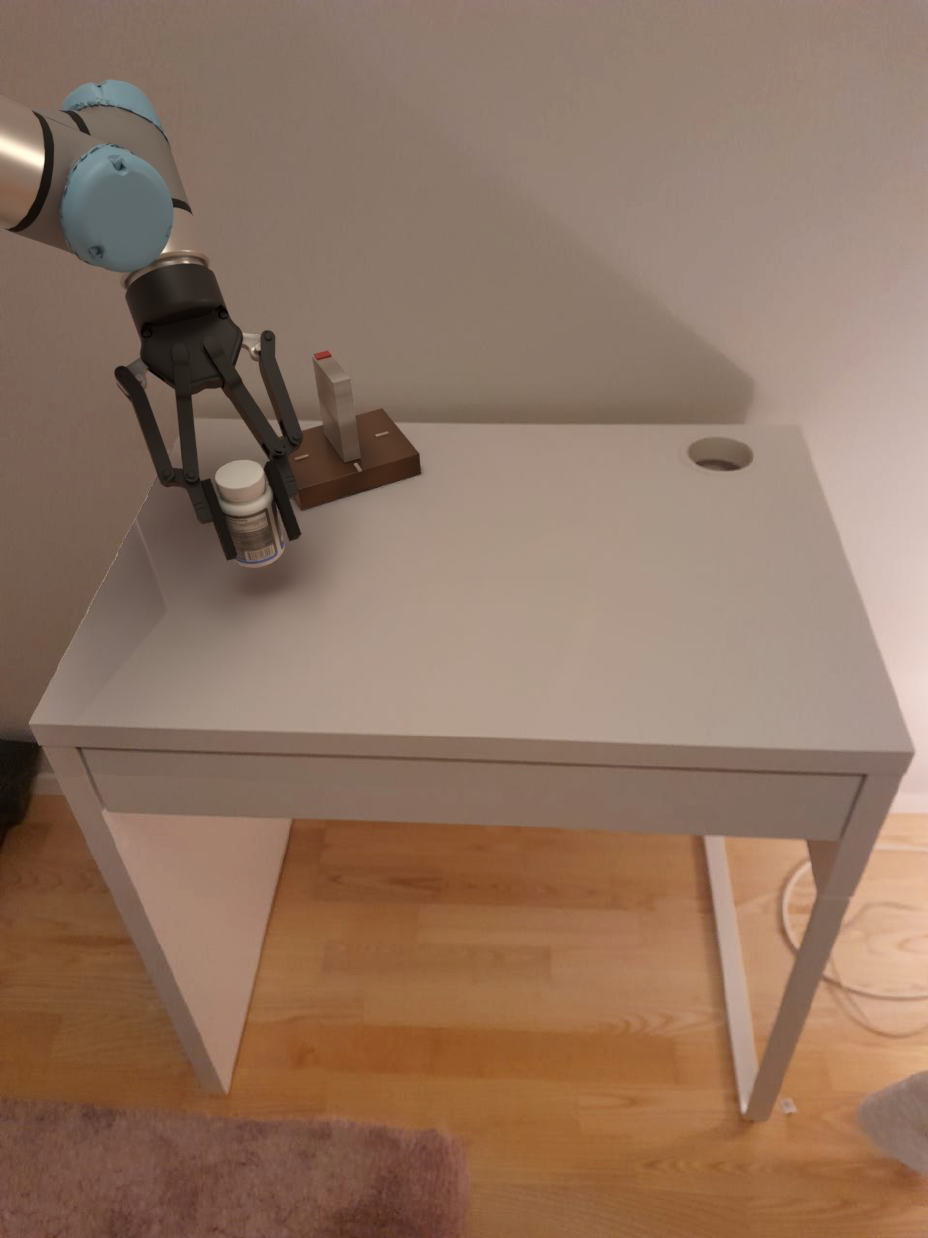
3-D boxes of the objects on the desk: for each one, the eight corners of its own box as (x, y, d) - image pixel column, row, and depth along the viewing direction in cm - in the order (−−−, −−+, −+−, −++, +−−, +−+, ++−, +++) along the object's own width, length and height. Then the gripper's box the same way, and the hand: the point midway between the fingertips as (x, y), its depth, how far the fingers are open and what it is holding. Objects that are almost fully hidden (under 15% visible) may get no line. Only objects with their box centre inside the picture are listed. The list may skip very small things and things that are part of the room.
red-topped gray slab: (361, 458, 95) (350, 375, 88) (344, 463, 94) (332, 380, 88) (340, 429, 99) (328, 348, 92) (324, 434, 98) (311, 353, 92)
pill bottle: (247, 530, 85) (228, 452, 79) (294, 540, 84) (278, 461, 78) (221, 563, 82) (198, 484, 76) (269, 574, 81) (250, 494, 75)
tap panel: (302, 510, 93) (297, 488, 91) (271, 459, 100) (266, 438, 98) (421, 474, 97) (420, 452, 95) (384, 427, 104) (381, 405, 102)
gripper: (268, 276, 84) (356, 523, 84) (63, 323, 78) (158, 586, 79) (275, 237, 76) (372, 507, 77) (51, 285, 71) (156, 575, 72)
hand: (263, 546), depth 78 cm, fingers closed on pill bottle, 5 cm apart
